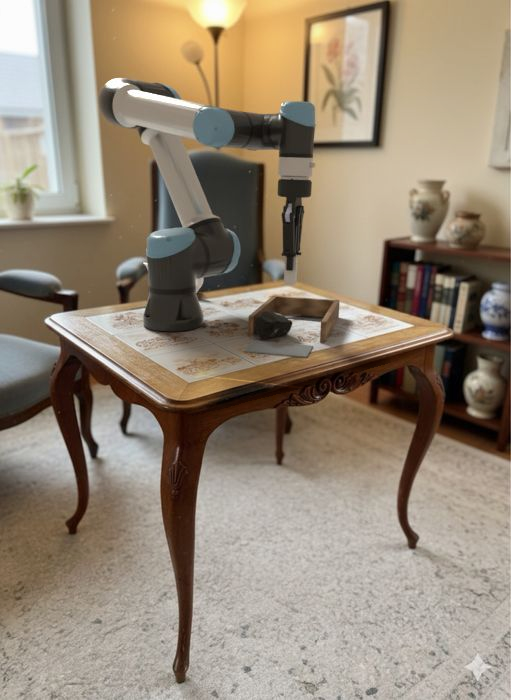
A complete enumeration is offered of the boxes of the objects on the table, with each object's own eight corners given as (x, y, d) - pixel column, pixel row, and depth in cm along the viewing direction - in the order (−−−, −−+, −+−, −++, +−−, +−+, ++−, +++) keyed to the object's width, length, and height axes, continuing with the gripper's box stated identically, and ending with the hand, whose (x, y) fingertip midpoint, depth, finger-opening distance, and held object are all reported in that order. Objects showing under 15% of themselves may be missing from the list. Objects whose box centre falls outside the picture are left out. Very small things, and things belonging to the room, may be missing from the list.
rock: (242, 319, 122) (268, 289, 126) (249, 345, 131) (273, 316, 135) (270, 334, 119) (295, 303, 123) (275, 359, 128) (298, 329, 132)
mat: (243, 351, 117) (243, 350, 117) (253, 341, 124) (253, 340, 124) (306, 357, 113) (306, 356, 113) (313, 346, 121) (313, 345, 121)
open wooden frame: (248, 336, 128) (248, 316, 127) (272, 313, 150) (273, 295, 149) (325, 343, 123) (326, 322, 122) (338, 318, 145) (339, 300, 144)
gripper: (305, 179, 112) (300, 290, 120) (316, 178, 124) (311, 279, 131) (271, 178, 114) (267, 287, 121) (285, 177, 126) (281, 277, 133)
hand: (290, 283), depth 126 cm, fingers closed
